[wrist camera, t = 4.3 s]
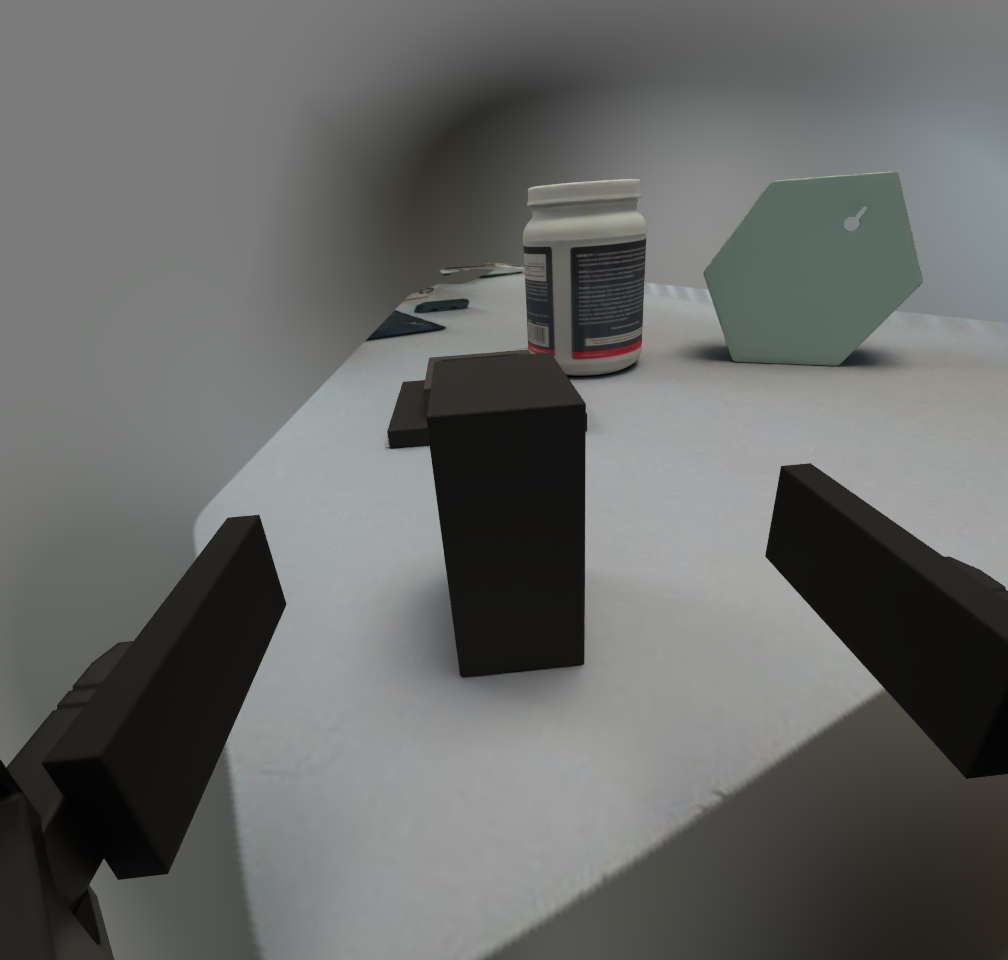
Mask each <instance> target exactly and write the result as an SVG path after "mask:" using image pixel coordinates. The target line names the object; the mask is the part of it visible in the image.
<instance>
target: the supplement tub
mask: <svg viewBox="0 0 1008 960" xmlns="http://www.w3.org/2000/svg"><path fill="white" fill-rule="evenodd" d="M640 190H641V183H640V180H639V179H626V180H625V179H623V180H605V181H589V182H577V183H564V184H555V185H545V186H538V187H532V188H529V189H528V203H527V206H532V207H531V210H532V219H531V220H530V221H529V222H528V224H527V225H526V227H525V229H524V234H523V243H524V264H525V285H526V306H527V328H528V348H529V351H530V353H531V354H535V353H547V352H550V353H551V354H552V355H553V357H554V358H555V359H556V361H557V362H558V364H559V365H560V367H561V368H562V370H563V371H564V373H565V374H566V375H573V376H587V375H600V374H607V373H612V372H615V371H618V370H621V369H624V368H626V367H628V366H630V365H631V364H633V363H634V362H635V361H636V360H637V359H638V358H639V356H640V353H641V350H642V347H641V345H642V323H643V298H644V274H645V250H646V233H647V230H646V223H645V220H644V218H643V217H642V215H641V214H640V213H639V212H638V211H637V209H636V205H637V202H638V199H637V198H641V193H640Z"/></svg>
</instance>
